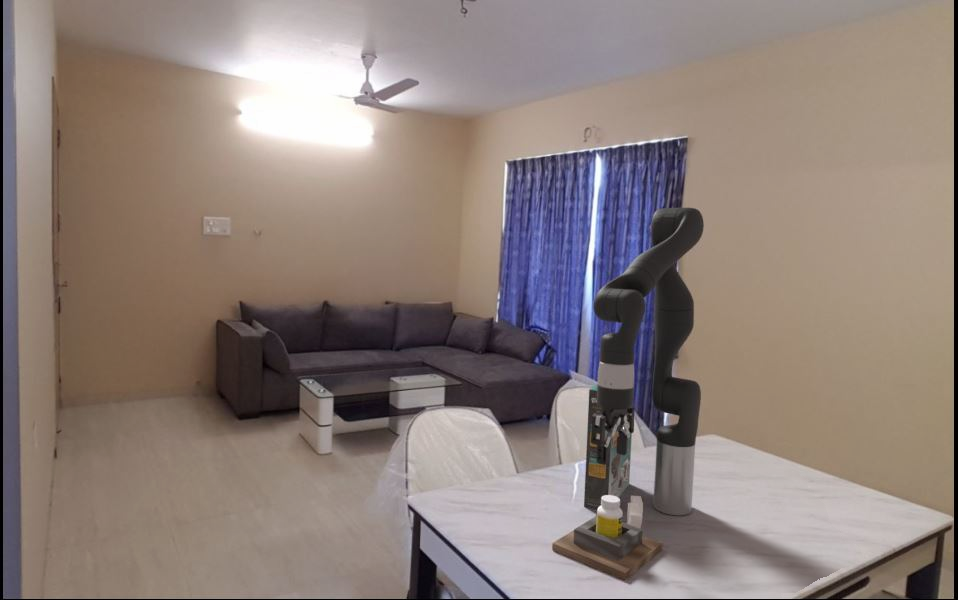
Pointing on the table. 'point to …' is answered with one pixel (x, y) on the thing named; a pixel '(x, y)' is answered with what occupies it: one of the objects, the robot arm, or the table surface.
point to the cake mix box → (613, 473)
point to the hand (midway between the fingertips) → (612, 458)
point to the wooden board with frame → (609, 549)
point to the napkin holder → (635, 512)
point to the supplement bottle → (609, 517)
